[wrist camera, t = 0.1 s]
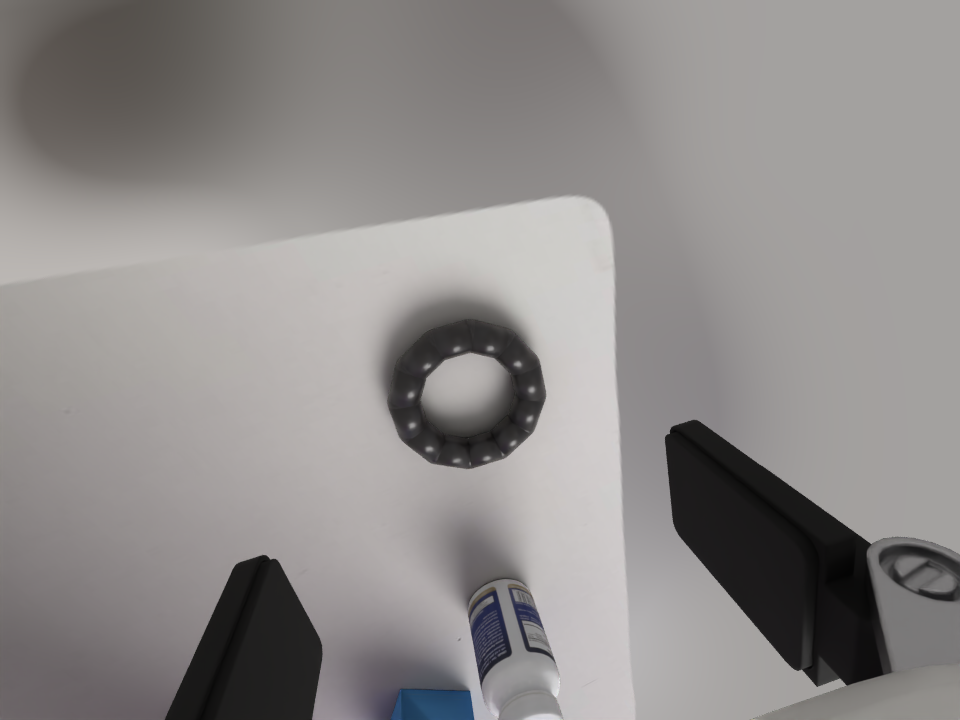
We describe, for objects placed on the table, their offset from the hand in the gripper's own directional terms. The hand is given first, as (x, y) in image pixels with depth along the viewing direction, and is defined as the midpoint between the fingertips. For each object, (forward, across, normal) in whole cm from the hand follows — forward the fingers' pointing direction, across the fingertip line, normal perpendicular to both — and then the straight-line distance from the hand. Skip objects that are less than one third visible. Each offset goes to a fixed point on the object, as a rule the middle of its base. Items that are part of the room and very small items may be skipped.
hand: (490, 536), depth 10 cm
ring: (+18, -1, +5) cm, 18 cm away
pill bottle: (+19, +1, +24) cm, 30 cm away
